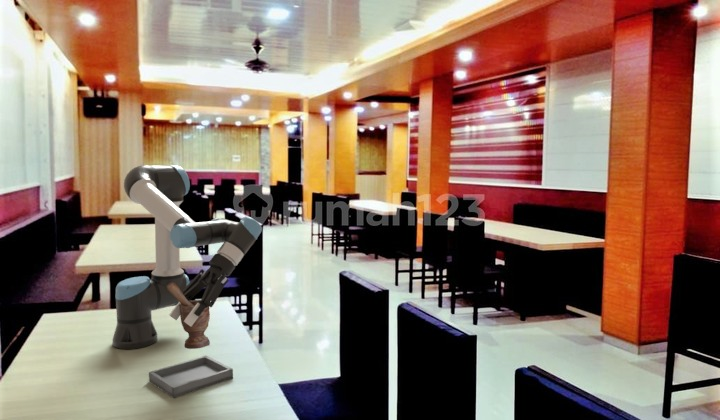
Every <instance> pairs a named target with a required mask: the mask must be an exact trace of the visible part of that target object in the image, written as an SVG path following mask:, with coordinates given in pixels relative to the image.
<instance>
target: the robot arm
mask: <svg viewBox="0 0 720 420" xmlns="http://www.w3.org/2000/svg"><path fill="white" fill-rule="evenodd" d="M123 187H124V188H123V189H124V192H125V194H126V196H127V197H128V198H129V199H130V200H131V202H133V203H135V204H139V205H141V206H142V207H143V208H144V209H145V210H146V211H147V212H148V213H150V215H152V216H153V217H154V234H155V235H154V237H155V240H154V241H155V243H154V244H155V268H154V269H153V270H152V272H151V278H150V277H149V276H146V275H143V276H142V275H141V276H140V275H139V276H134V277H129V278H125V279H124V280H121V281H119V282H118V283H117V285H116V287H115V307H116V326H115V329H114V333H113V336H112V347H114V348H116V349H118V350H119V349H122V350H134V349H140V348H145V347H149V346H151V345H153V344H155V343H156V342H157V341H158V332H157V330H156V328H155V325H154V323H153V320H152V318H153V317H152V311H157V310H160V309H164V308H169V307H174V308H173V309H172V310H171V311H170V313H169V314H168V316H170V317H171V318H172V319H174V320H175V321H177V320H178V319H179V317H180V307H179V305H180V304H181V303H180V302H179V301H178V300H177V299H176V298H175V297H174V296H173V295H172V294H171V293H170V292H169V291H168V290H167V287H166V286H167V285H168V284H169V283H171V282H174V283H175V284H176V285H177V286H178V287H179V289H180V290H181V292H182V293H183V295H184V296H185V298H186V299H187V300H188V301H192V299H193V298H194V297H195V296H196V295H197V294H199V293H200V292H201V291H202V290H203V289H205V290H204V292H203V295H202V296H201V299H198V300H199V301H198V302H199V303H200V304H199V303H197V304H196V305H195V307H194V308H193V309H192V311H191V312H190V313H189V315H188V316H187V317H186V319H185V320H184V322H185V323H186V324H188V325H189V326H192V325H193V324H194V322H195V321H196V320H197V318H198V317H199V316H200V315H201V313H202V312H203V311H204V309H205V308H207V307H209V308H212V307H213V306H214V304H215V303H216V301H217V299H218V297H219V296H220V295H221V292H222V291H223V289H224V288H225V286H226V285H227V284H228V282H229V279H228V278H227V277H230V276H231V274H232V273H233V271H234V270H235V269H236V266H238V264H240V262H241V261H242V259H243V258H244V256H246V254H247V253H248V251H249V250H250V248H251V247H252V246H253V245H254V244H255V242H256V240H258V237H259V236H260V234H261V233H262V231H263V227H262V226H261V224H260V222H258V221H257V220H256V219H255V218H253V217H250V216H244V217H242V218H241V220H240V221H239V222H238V221H233V220H229V219H227V218H225V217H222V218H221V217H216V218H215V217H214V218H213V219H211V220H209V221H199V222H196V221H195V220H193V219H192V218H191V217H190V216H189V215H188V214H187V213H186V212H184V211H183V210H182V209H181V208H180V205H181V204H182V203H183V202H184V196H186V195H187V194H188V193H189V191H190V187H191V184H190V178H189V176H188V173H187V171H186V170H185V169H184V168H183V167H182V166H181V165H176V164H175V165H173V164H160V165H159V164H158V165H157V164H155V165H153V164H151V165H144V164H143V165H142V164H141V165H138V166H136V167H133V168H132V169H130V171H129V172H128V173H126V175H125V178H124V182H123ZM216 244H221V246H220V247H219V248H218V250H217V251H216V253H215V254H214V255H213V256H212V257H211V259H210V260H209V262H208V264H209V267H208V269H207V270H204V269H203V268H201V269H200V270H199V271H198V273H197V275H196V276H195V277H194V278H193V279H192V280H191V281H190V279H189V276H188V275H187V274H185V271H184V269H183V268H181V265H180V263H181V262H180V259H181V258H180V257H181V255H180V249H190V248H194V247H200V246H207V245H216Z"/></svg>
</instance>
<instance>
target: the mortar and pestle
mask: <svg viewBox="0 0 720 420" xmlns="http://www.w3.org/2000/svg"><path fill="white" fill-rule="evenodd" d="M166 287H167V290H168V291H169V292H170V293H171V294H172V295H173V296H174V297H175V298H176V299H177V300H178V301H179V302H180V303H181V304H180V305H179V307H180V316H179V317H180V318H179V319H180V323H181V326H182V328H183V330H184V332H186V333H188V337H187V339H185V341H184V349H189V350H195V349H202V348H205V347H208V346H210V344H211V343H210V342H211V341H210V339H209V338H208V336H206V334H205V332H206V331H207V329H208V327H209V322H210V317H211V316H210V314H211V313H210V307H207V308H205V309H204V311H203V312H202V313H201V315H200V316H199V317H198V318H197V320H196V321H195V322H194V324H193V325H192V326H189V325H188V324H186V323H185V322H184V320H185V319H186V317H187V316H188V315H189V313H190V312H191V311H192V309H193V308H194V307H195V305H196V304H197V303H199V302H198V301H199V300H200V299H195V300H190V301H188V300H187V299H186V298H185V296H184V295H183V293H182V292H181V290H180V289H179V287H178V286H177V285H176V284H175V283H174V282H171V283H169V284H168V285H167V286H166ZM199 304H200V303H199Z"/></svg>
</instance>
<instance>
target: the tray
mask: <svg viewBox="0 0 720 420" xmlns="http://www.w3.org/2000/svg"><path fill="white" fill-rule="evenodd" d="M233 379H234V369H233V368H232V367H230V366H228V365H226V364H224V363H222V362H220V361H218V360H216V359H214V358H212V357H210V356H207V355H203V356H200V357H196V358H193V359H188V360H186V361H182V362H178V363H175V364H173V365H170V366H166V367H162V368H158V369H155V370H152V371H148V381H149V383H150V384H152V385H154V386H155V387H157V388H158V389H159V390H161V391H163V392H164V393H165V394H167V395H168V396H169V397H171V398H173V399H175V398H179V397H182V396H185V395H187V394H190V393H194V392H198V391H199V390H202V389H205V388H208V387H211V386H215V385H218V384H220V383H221V384H222V383H224V382H226V381H230V380H233Z"/></svg>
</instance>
